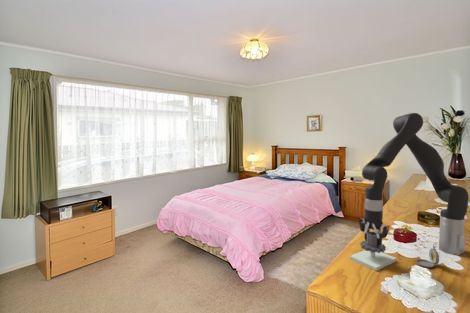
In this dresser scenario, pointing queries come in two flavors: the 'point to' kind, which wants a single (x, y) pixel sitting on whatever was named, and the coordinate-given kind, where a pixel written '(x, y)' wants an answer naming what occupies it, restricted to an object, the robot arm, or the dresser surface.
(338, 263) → the dresser surface
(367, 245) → the planet gear
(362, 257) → the plate
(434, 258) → the pocket watch
